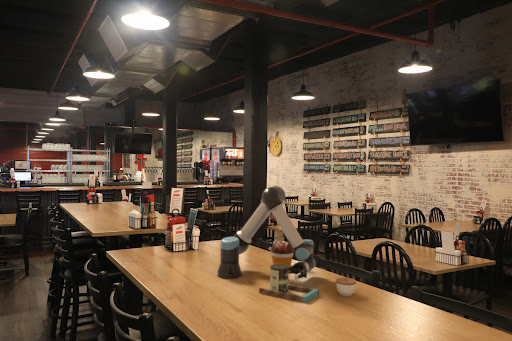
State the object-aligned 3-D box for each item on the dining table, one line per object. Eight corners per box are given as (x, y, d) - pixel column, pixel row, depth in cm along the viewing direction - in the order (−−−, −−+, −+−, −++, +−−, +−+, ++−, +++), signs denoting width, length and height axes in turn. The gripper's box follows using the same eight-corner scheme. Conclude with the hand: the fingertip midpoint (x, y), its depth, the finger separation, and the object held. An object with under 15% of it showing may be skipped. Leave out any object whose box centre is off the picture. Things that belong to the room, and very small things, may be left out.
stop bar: (302, 302, 200) (302, 296, 200) (315, 294, 214) (315, 288, 213) (306, 303, 199) (306, 297, 199) (318, 294, 212) (318, 289, 212)
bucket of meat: (264, 265, 274) (264, 237, 274) (280, 262, 285) (281, 234, 285) (284, 271, 259) (285, 241, 259) (301, 267, 270) (301, 238, 270)
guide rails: (259, 293, 214) (259, 288, 214) (273, 285, 227) (273, 281, 227) (306, 303, 199) (306, 298, 199) (318, 294, 212) (318, 290, 212)
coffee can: (289, 289, 220) (289, 264, 220) (287, 295, 210) (287, 269, 210) (271, 288, 222) (271, 263, 222) (268, 294, 212) (268, 268, 212)
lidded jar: (341, 298, 207) (341, 280, 207) (332, 292, 217) (332, 275, 217) (359, 296, 210) (360, 279, 210) (349, 290, 220) (350, 274, 220)
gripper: (319, 277, 231) (304, 286, 213) (282, 271, 244) (264, 279, 226) (319, 264, 231) (304, 272, 213) (282, 259, 244) (265, 266, 226)
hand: (284, 276), depth 220 cm, fingers open, 13 cm apart
